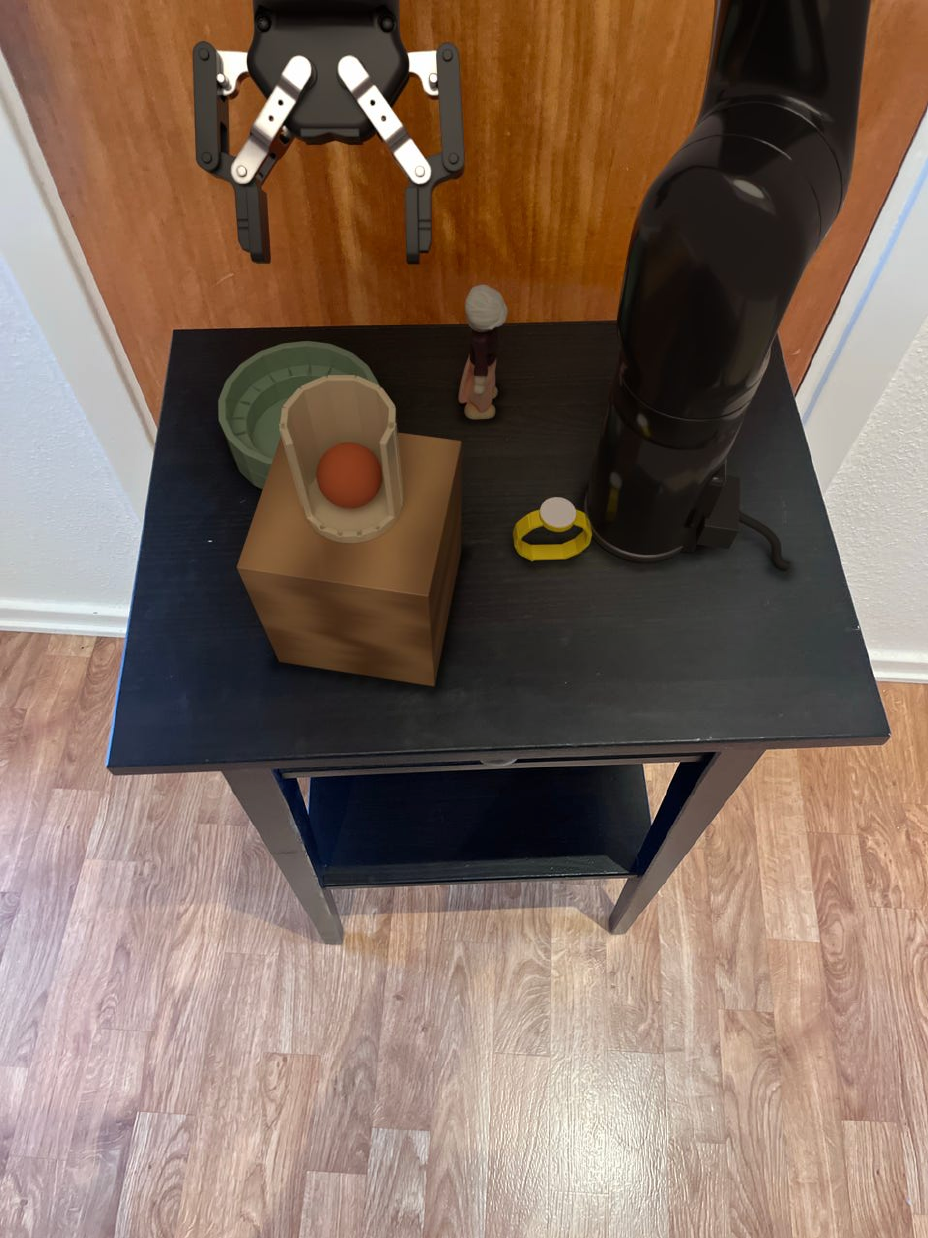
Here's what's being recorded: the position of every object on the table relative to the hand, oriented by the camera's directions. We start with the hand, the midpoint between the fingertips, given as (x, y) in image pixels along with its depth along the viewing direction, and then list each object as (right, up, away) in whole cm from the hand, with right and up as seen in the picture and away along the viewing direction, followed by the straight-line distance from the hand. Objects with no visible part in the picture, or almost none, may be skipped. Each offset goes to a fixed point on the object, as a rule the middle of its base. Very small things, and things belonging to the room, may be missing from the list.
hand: (337, 263), depth 48 cm
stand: (0, -19, +19) cm, 27 cm away
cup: (0, -12, +7) cm, 14 cm away
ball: (0, -11, +5) cm, 12 cm away
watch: (+14, -15, +22) cm, 30 cm away
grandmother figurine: (+8, -1, +29) cm, 30 cm away
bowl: (-6, -4, +27) cm, 28 cm away
